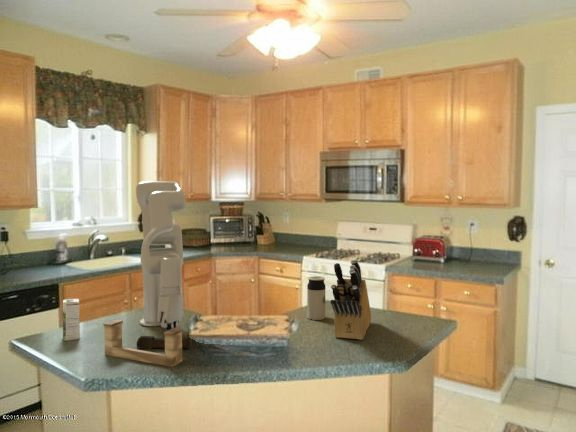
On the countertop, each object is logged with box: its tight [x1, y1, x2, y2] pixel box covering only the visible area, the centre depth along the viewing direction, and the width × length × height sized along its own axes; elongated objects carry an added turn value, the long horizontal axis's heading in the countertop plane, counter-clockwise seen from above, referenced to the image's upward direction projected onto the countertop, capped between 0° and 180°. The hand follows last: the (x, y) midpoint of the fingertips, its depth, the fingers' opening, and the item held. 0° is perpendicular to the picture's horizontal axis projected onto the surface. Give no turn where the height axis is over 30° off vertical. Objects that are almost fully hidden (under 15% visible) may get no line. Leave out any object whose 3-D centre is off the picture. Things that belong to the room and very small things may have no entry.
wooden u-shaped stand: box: [103, 319, 184, 368], centre depth 151 cm, size 5×28×11 cm, turn 68°
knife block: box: [330, 259, 372, 341], centre depth 178 cm, size 11×35×31 cm, turn 162°
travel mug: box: [306, 275, 326, 321], centre depth 199 cm, size 8×8×18 cm
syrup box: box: [62, 298, 81, 342], centre depth 171 cm, size 6×6×14 cm
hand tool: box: [136, 335, 191, 350], centre depth 161 cm, size 19×4×5 cm, turn 88°
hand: (171, 339), depth 165 cm, fingers closed
